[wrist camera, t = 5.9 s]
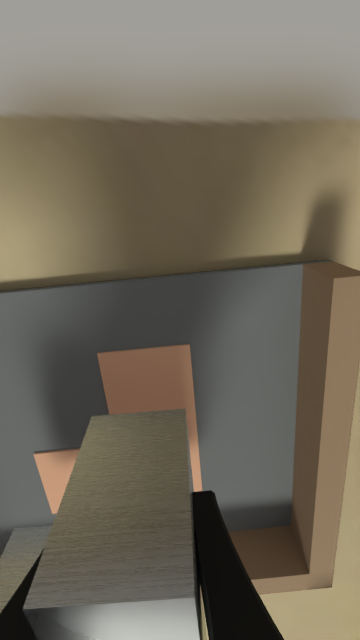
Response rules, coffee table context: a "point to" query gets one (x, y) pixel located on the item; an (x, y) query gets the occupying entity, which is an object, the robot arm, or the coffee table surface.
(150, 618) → the l block
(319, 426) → the arena
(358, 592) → the coffee table surface
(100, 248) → the coffee table surface
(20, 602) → the robot arm
